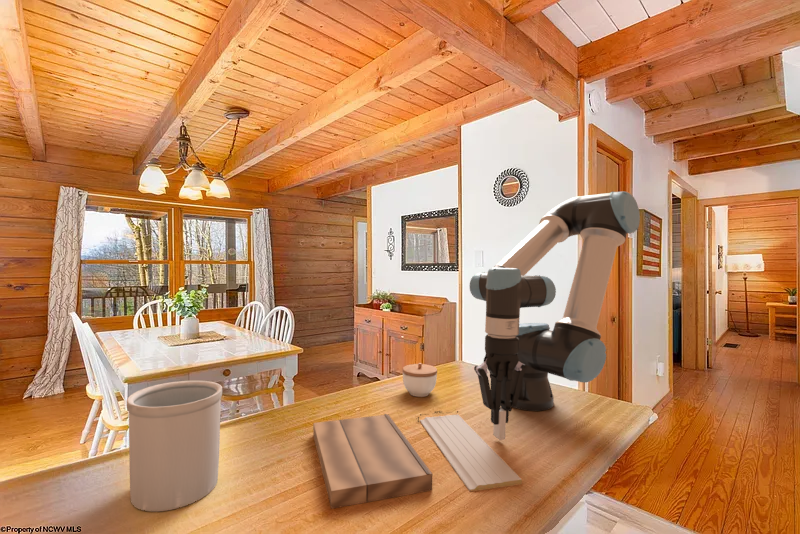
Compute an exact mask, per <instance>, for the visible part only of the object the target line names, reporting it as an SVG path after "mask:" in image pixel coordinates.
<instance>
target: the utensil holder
mask: <svg viewBox="0 0 800 534" xmlns="http://www.w3.org/2000/svg"><path fill="white" fill-rule="evenodd" d="M222 396H223V386H222V385H221V384H220V383H217V382H214V381H209V380H182V381H181V380H180V381H178V380H177V381H172V382H164V383H160V384H154V385H150V386H148V387H145V388H141V389H139V390H137V391H134V392H133V393H131V394H130V395H129V396H128V397H127V399H126V409H127V411H128V437H129V439H128V441H129V442H128V443H129V444H128V445H129V446H128V448H129V453H128V454H129V460H128V461H129V493H130V502H131V504H132V506H133V505H134V506H133V507H135V508H136V509H138V510H140V509H141V511H144V510H145V512H164V511H165V512H166V511H171V510H176V509H179V507H180V508H183V507H186V506H189V505H191V504H193V503H195V501H196V502H197V500H198V501H199V500H201V499H203V498H204V497H206V496H207V495H208V494H210V493H211V492H212V491H213V490H214V489H215V487H216V486H217V483H218V479H219V467H220V466H219V464H220V463H219V462H220V443H221V442H220V439H221V438H220V437H221V435H220V434H221V405H222V401H221V398H222ZM188 504H189V505H188Z"/></svg>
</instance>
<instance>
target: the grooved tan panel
mask: <svg viewBox="0 0 800 534" xmlns="http://www.w3.org/2000/svg"><path fill="white" fill-rule="evenodd" d="M313 439H314V445H315V447H316V451H317V456H318V459H319V464H320V468H321V472H322V476H323V480H324V484H325V490H326V492H327V497H328V501H329V505H330V509H336V508H342V507H348V506H354V505H358V504H364V503H370V502H374V501H375V502H376V501H380V500H386V499H390V498H392V499H393V498H397V497H400V496H401V497H402V496H407V495H412V494H417V493H418V494H419V493H423V492H430V491H433V472H432V471H431V470H430V469H429V467H428V466H427V465H426V463H425V462H424V460H423V459H422V458H421V455H419V454H418V451H416V450H415V448H414V446H413V445H412V444H411V443H410V441H409V439H407V438H406V436H405V435H404V433H403V432H402V431H401V429H400V428H399V427H398V425H397V424H396V423H395V421H394V420H393V419H392V417H391V415H390V414H387V413H384V414H381V415H379V414H378V415H373V416H362V417H356V418H355V417H354V418H346V419H338V420H337V419H335V420H329V421H320V422H313Z"/></svg>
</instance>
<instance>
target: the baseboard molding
mask: <svg viewBox="0 0 800 534" xmlns="http://www.w3.org/2000/svg"><path fill="white" fill-rule="evenodd" d="M442 413H443V410H438V411H437V410H436V411H434V413H433V414H435V415H436V414H437V415H438V414H442ZM449 413H450V415H443V416H441V415H439V416H429V417H428V416H427V415H428V413H427V414H423V416H425V415H426V417H424V419H420V417H419V416H417V423H418V422H419V423H421V425H422V427H423V428H424V429H425V430H426V432H427V433H428V435H429V436H430V438H431V439H432V441H433V442H434V444H435V445H436V447H438V449H439V450H440V452H441V453H442V455H443V456H444V458H445V459H446V461H447V462H448V463H449V464H450V466H451V467H452V469H453V470H454V471H455V473H456V474H457V476H458V477H459V478H460V480H461V481H462V482H463V484H464V486H465V487H466V488H467V490H468V491H469V492H475V491H481V490H482V491H483V490H490V489H496V488H504V487H511V486H512V487H513V486H519V485H522V483H523V479H522V478H521V477H520V476H519V475H518V473H517V472H515V471H514V469H512V468H511V467H510V466H509V465H508V464H507V463H506V462H505V461H504V460H503V459H502V457H501V456H500V455H499V454H497V452H496V451H494V449H493V448H492V447H490V445H489V444H488V443H487V442H485V440H484V439H483V438H482V437H481V436H480V435H479V433H477V432H476V431H475V430H474V429H473V428H472V427H471V426H470V425H469V424H468V423H467V421H465V420H464V418H463V417H462V416H461V415H459V414H458V413H459V411H458V410H457V411H456V413H457V414H451V413H452V411H450V412H447V414H449ZM420 416H422V413H420Z"/></svg>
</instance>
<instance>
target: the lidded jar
mask: <svg viewBox="0 0 800 534" xmlns="http://www.w3.org/2000/svg"><path fill="white" fill-rule="evenodd" d="M437 376H438V368H437V367H436V366H434V365H430V364H426V363H422V362H418V363H412V364H408V365H404V366H403V367H402V382H403V385H404V388H405V390H406V391H407V392H408V393H409V395H410V396H412V397H417V398H423V397H424V398H426V397H428V396H429V395H430V394H431V392H432V391H434V389H435V387H436V384H437Z"/></svg>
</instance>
